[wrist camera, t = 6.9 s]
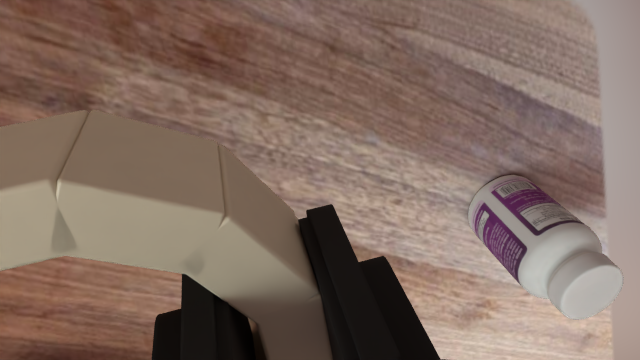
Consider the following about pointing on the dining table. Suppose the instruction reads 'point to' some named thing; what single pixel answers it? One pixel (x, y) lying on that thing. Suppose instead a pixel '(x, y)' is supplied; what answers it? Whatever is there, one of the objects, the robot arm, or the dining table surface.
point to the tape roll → (161, 218)
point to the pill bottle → (544, 247)
